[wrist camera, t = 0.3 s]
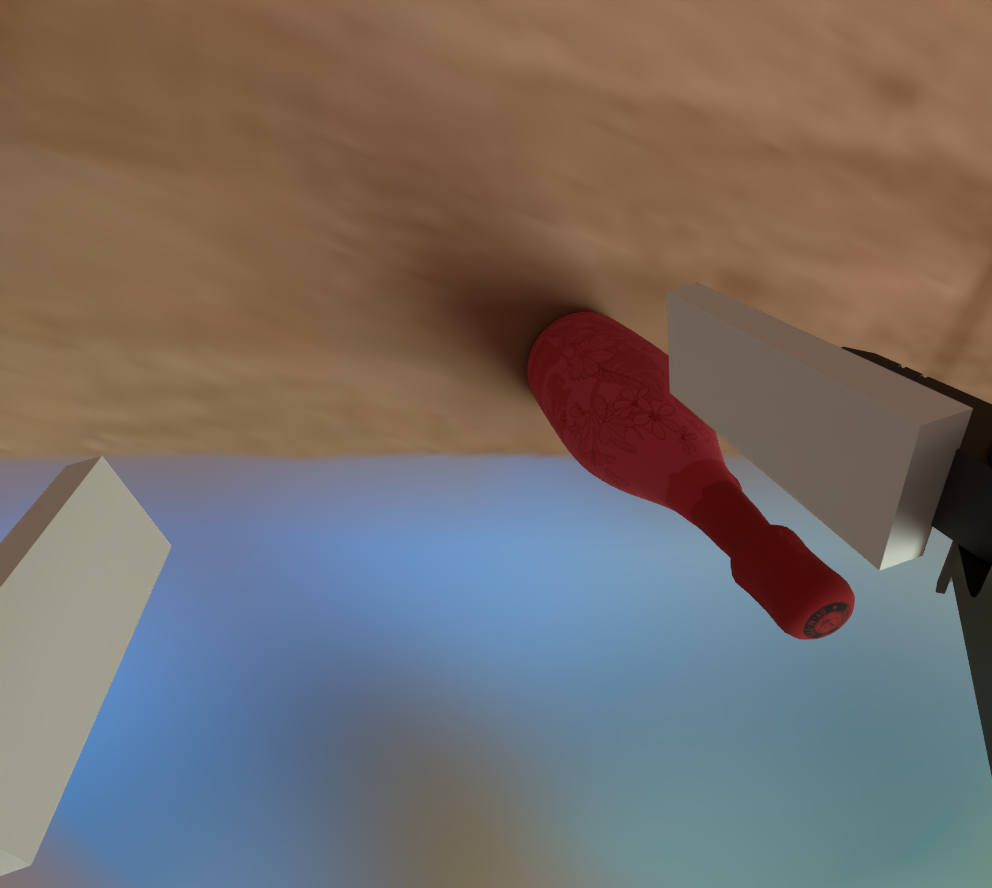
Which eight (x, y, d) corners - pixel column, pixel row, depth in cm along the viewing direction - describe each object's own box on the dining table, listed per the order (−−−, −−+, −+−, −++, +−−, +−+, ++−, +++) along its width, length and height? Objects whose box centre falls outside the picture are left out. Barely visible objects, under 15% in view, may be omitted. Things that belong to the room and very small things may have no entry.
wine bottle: (522, 309, 43) (752, 549, 18) (632, 301, 45) (982, 509, 20) (520, 415, 48) (698, 721, 23) (620, 404, 50) (887, 676, 25)
